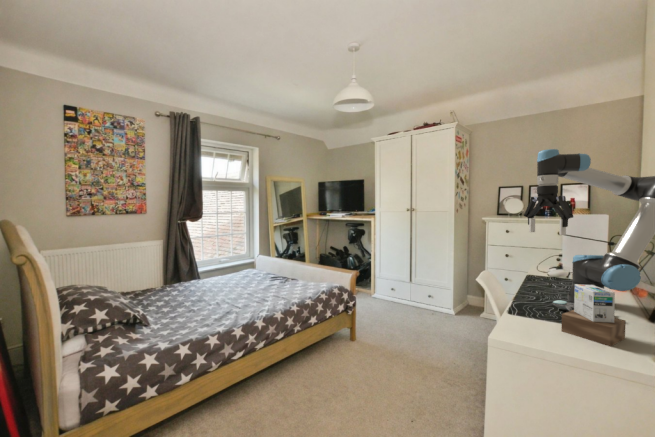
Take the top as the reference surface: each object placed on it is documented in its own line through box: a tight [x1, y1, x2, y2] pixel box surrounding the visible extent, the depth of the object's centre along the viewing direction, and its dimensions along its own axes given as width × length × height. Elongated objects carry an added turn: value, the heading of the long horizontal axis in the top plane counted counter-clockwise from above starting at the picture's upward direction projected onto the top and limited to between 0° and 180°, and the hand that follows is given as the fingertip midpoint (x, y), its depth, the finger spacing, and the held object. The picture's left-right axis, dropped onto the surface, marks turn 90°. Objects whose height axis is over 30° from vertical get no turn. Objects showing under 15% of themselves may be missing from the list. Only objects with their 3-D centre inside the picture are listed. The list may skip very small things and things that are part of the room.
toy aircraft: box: [552, 299, 574, 312], centre depth 129 cm, size 16×20×5 cm
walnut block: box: [560, 310, 627, 347], centre depth 108 cm, size 12×14×7 cm
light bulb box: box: [574, 284, 616, 323], centre depth 108 cm, size 11×7×11 cm, turn 171°
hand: (546, 233), depth 132 cm, fingers open, 13 cm apart
